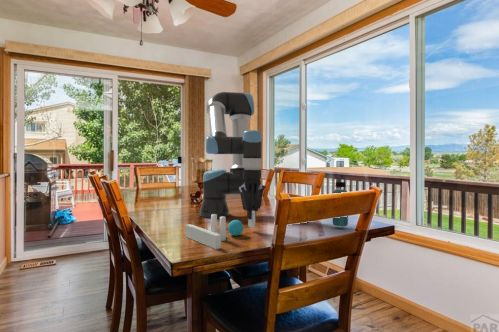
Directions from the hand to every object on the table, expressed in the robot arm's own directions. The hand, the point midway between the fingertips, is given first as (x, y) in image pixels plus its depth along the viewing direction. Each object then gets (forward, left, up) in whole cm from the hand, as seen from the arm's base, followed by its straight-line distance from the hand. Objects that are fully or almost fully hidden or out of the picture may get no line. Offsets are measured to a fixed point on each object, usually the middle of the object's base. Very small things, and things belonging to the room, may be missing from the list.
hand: (251, 226), depth 123 cm
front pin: (+7, -11, -1) cm, 13 cm away
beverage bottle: (0, +39, -2) cm, 39 cm away
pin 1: (+6, -16, -2) cm, 17 cm away
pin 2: (+11, -13, -2) cm, 17 cm away
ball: (+5, -7, +1) cm, 9 cm away
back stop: (+12, -20, -2) cm, 24 cm away
